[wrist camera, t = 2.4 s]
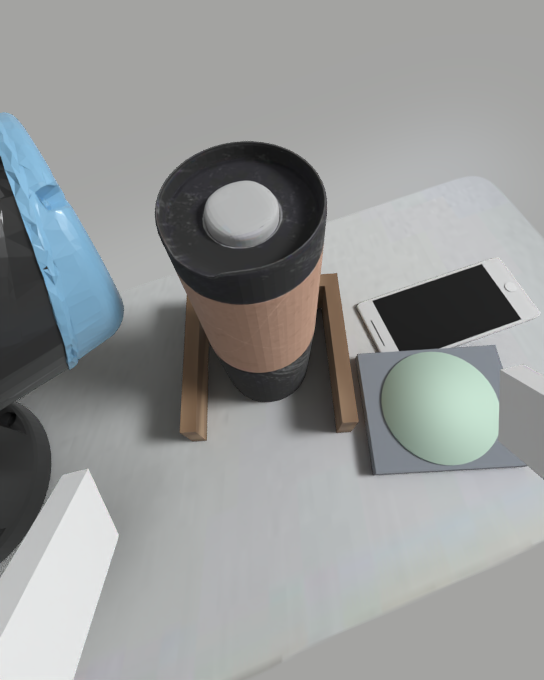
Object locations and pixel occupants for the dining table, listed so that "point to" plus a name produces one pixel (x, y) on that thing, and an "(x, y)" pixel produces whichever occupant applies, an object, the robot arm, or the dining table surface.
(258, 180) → the travel mug
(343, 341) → the mug cradle
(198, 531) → the dining table surface
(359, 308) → the smartphone
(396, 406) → the dock pad
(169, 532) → the dining table surface
